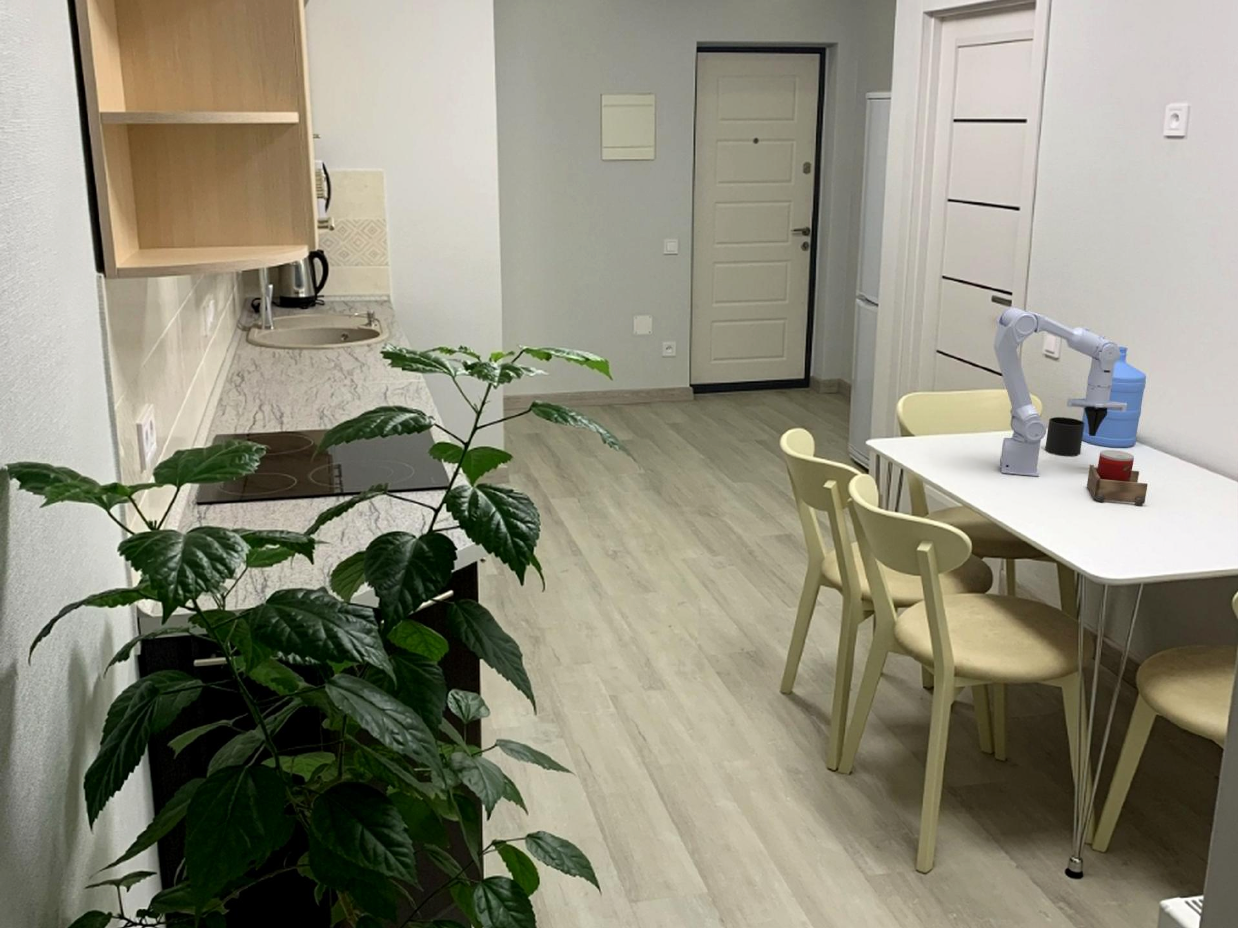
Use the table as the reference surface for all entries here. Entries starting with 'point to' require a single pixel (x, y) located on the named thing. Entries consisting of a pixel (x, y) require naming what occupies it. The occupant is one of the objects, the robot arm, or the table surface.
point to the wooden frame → (1116, 488)
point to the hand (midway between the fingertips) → (1091, 435)
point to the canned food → (1115, 465)
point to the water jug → (1118, 424)
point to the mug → (1064, 436)
